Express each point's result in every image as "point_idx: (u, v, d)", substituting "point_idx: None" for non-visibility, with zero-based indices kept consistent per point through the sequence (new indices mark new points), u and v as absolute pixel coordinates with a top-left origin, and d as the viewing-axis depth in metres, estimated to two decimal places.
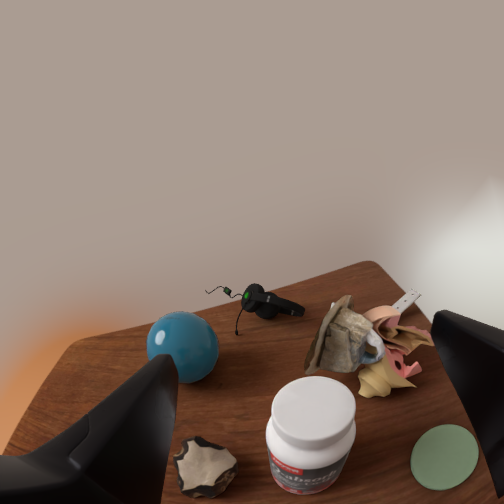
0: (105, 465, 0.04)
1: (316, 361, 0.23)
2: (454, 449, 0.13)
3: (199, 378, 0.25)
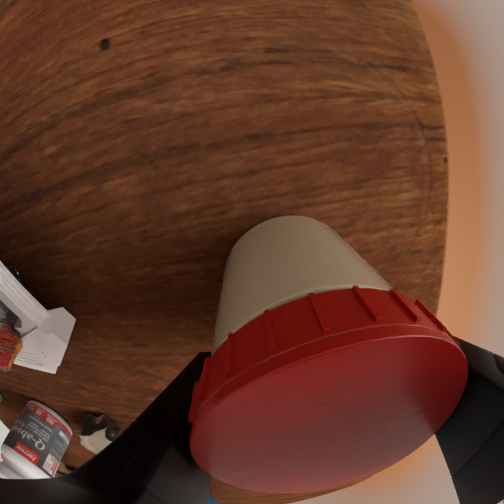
0: (162, 476, 0.04)
1: None
2: None
3: None
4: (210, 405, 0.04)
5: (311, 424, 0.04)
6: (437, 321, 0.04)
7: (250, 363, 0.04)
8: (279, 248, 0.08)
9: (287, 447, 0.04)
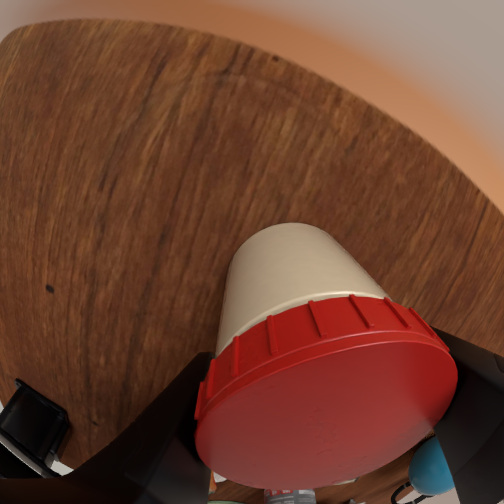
0: (162, 476, 0.04)
1: None
2: None
3: (409, 465, 0.18)
4: (253, 486, 0.06)
5: (280, 466, 0.05)
6: (207, 390, 0.05)
7: None
8: None
9: (312, 467, 0.05)
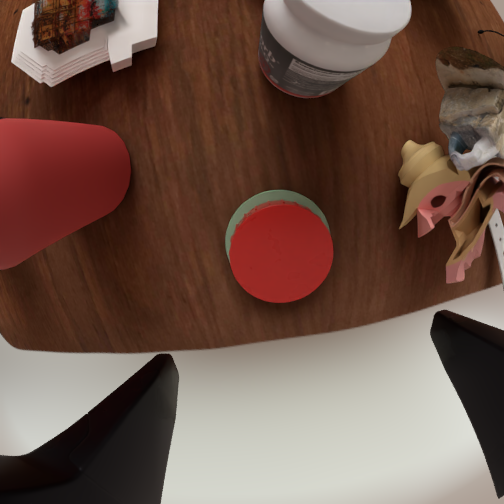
0: (105, 465, 0.04)
1: (455, 80, 0.10)
2: None
3: None
4: (251, 294, 0.17)
5: (261, 270, 0.17)
6: (235, 228, 0.17)
7: None
8: None
9: (275, 275, 0.17)
